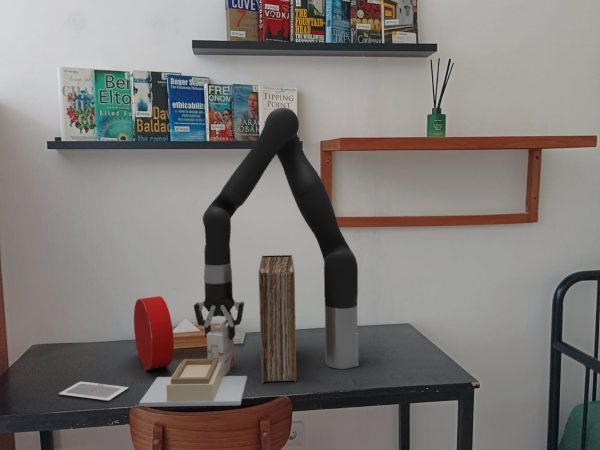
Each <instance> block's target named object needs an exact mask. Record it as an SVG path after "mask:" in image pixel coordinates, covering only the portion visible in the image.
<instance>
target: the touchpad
mask: <svg viewBox="0 0 600 450" xmlns="http://www.w3.org/2000/svg"><path fill="white" fill-rule="evenodd" d="M127 389H129V386H121V385H113V384H112V385H111V384H105V383H97V382H89V381H87V382H86V381H80V380H79V382H77V383H75V384H73V385H71V386H70V387H67V388H66V389H64V390H62V391H60V392H59V393H58V395H62V396H63V395H64V396H72V397H78V398H79V397H80V398H86V399H87V398H88V399H95V400H101V401H108V402H109V401H111V400H112V399H114V398H116V396H117V397H118V395H120V394H122V392H124V391H126V390H127Z"/></svg>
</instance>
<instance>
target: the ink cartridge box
mask: <svg viewBox="0 0 600 450" xmlns="http://www.w3.org/2000/svg"><path fill="white" fill-rule="evenodd" d="M229 327H230V325H229V323H228V321H227V320H226V319H225V320H224V321H223V322H221V324H220V325H218V324H217V325H216V326H215V327H214V328H213V329H211V331H210V332H209V333H208V334H206V336H207V338H206V349H207V351H206V352H207V359H218V362H222V373H223V376H227V374H228V373H229V372H230V371H231V369H232V368H233V367H234V366H235V348H234V347H235V346H234V345H235V344H234V343H235V341H234V338H233V339H232V340H230V339H229Z"/></svg>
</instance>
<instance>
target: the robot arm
mask: <svg viewBox="0 0 600 450" xmlns="http://www.w3.org/2000/svg"><path fill="white" fill-rule="evenodd" d="M299 125H300V121H299V117H298V115H297V114H296V113H295V112H294V110H291V109H290V108H287V107H278V108H276V109H274V110H272V111H271V112H270V113H269V114H268V116H267V117H266V119H265V121H264V126H263V128H262V130H261V132H260V134H259V136H258V138H257V140H256V141H255V143H254V145H253V146H252V147H251V148H250V150H249V152H248V153H247V155H246V156H245V157H244V158H243V159H242V161H241V163H240V164H239V165H238V166H237V167H236V169H235V171H234V172H233V173H232V174H231V175H230V177H229V179H228V180H227V181H226V183H225V184H224V186H223V187H222V190H221V191H220V193H219V194H218V195H217V196H216V197H215V199H214V200H212V202H211V203H210V204H209V205H208V207H206V208H207V209H206V210H205V211H204V213H203V216H202V222H203V223H202V224H203V226H204V237H205V246H204V270H203V272H204V275H203V279H204V301H203V302H198V301H197V302H195V304H194V305H193V309H194V313H195V317H196V324H197V325H198V326H202V327H204V337H205V339H207V336H206V334H208V333H209V332H210V331H211V330H212V325H211V321H212V320H213V318H214V317H224V318H225V320H227V321H228V323H227V324H228V325H230V327H229V339H230V340H232V339H233V340H234V339H235V337H236V326H238V325H241V323H242V321H243V319H242V318H243V312H244V306H245V302H244V301H235V299H234V297H233V296H234V295H233V270H232V269H233V268H232V264H231V246H230V243H231V234H232V232H231V230H232V228H231V227H232V224H231V223H232V222H231V218H232V217H233V215H235V213H236V211H237V210H238V209H239V208H240V207H241V206H242V205H244V203H245V202H246V201H247V199H248V198H249V196H250V195H251V194H252V192H253V191H254V189H256V187H257V185H258V183H259V182H260V180H261V178H262V177H263V175H264V173H265V171H266V170H267V168H268V167H269V165H270V163H271V162H272V161H273V159H274V158H275V157H276V156H277V159H278V160H279V162H280V164H281V166H282V168H283V169H282V170H283V173H284V176H285V178H286V181H287V184H288V186H289V188H290V191H291V194H292V197H293V199H294V201H295V204H296V206H297V208H298V210H299V212H300V214H301V216H302V218H303V219H304V222H305V223H306V225H307V226H308V227H309V229H310V230H311V232H312V234H313V235H314V237H315V239H316V242H317V244H318V246H319V249H320V252H321V255H322V258H323V263H324V264H323V265H324V266H323V278H324V279H323V281H324V283H323V284H324V287H323V288H324V296H323V297H324V329H325V330H324V341H325V342H324V345H325V346H324V347H325V351H324V353H325V355H324V359H325V365H326V366H328V367H329V368H331V369H332V368H333V369H341V370H347V369H352V368H354V367H359V332H358V294H359V292H358V291H359V287H358V283H359V282H358V281H359V280H358V276H359V275H358V274H359V273H358V271H359V269H358V266H359V265H358V262H357V258H356V255H355V254H354V252H353V251H352V250H351V248H350V246H349V245H348V243H347V241H346V239H345V237H344V236H343V233H342V231H341V229H340V227H339V223H338V221H337V217H336V216H337V215H336V214H335V211H334V207H333V204H332V202H331V198H330V196H329V193H328V191H327V189H326V186H325V185H324V182H323V180H322V178H321V176H320V175H319V174H318V172H317V170H316V169H315V167H314V166H313V165H312V163H311V162H310V161H309V159H308V158H307V156H306V154H305V152H304V149H303V147H302V144H301V142H300V138H299V135H298V131H299V127H300V126H299ZM233 307H235V310H236V311H237V313H236V314H237V315H236V319H234V316H233V314H232V311H231V310H232V309H233ZM204 308H205V310H207V312H208V314H207V315H206V318H205V319H204V316H203V312H202V311H203V309H204Z"/></svg>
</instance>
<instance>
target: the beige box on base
mask: <svg viewBox="0 0 600 450" xmlns="http://www.w3.org/2000/svg"><path fill="white" fill-rule="evenodd" d="M247 382H248V375H225V376H223V373H222V362H218V359H208V358H186V359H185V358H184V359H183V360H182V361H181V362H180V363H179V364H178V366H177V368H176V370H175V371H174V373H173V374H172V375H171V376H157V377H156V379H155V380H154V381H153V382H152V384H151V386H150V387H149V389H147V391H146V392H145V394H144V395H143V397H142V398H141V399H140V401H139V403H138V407H139V406H144V408H145V407H148V408H149V407H153V408H155V407H156V408H157V407H207V406H208V407H213V406H214V407H215V406H216V407H217V406H218V407H219V406H220V407H221V406H223V407H224V406H241V404H242V401H243V399H244V398H243V397H244V393H245V390H246V386H247Z"/></svg>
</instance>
